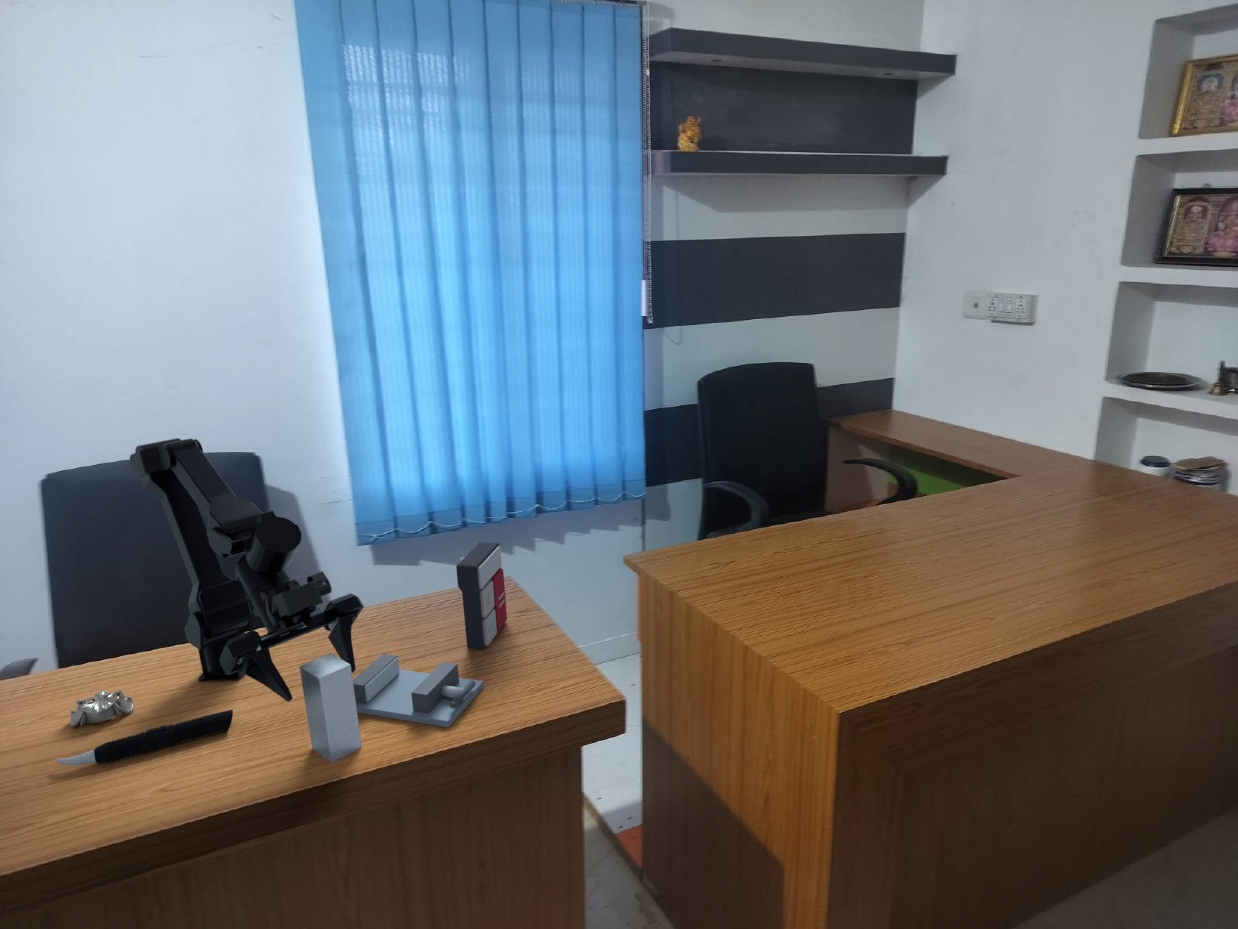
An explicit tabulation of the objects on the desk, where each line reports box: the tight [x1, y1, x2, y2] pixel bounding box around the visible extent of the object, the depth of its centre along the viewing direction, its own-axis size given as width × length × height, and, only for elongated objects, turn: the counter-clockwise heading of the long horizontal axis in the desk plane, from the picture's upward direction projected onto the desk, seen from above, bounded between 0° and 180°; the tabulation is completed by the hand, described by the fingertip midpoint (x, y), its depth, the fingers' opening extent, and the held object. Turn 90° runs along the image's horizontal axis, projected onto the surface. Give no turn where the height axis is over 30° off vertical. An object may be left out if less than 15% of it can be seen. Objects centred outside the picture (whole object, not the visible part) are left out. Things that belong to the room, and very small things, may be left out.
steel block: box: [298, 652, 363, 764], centre depth 110 cm, size 4×5×12 cm
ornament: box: [69, 689, 134, 728], centre depth 122 cm, size 8×7×4 cm
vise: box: [352, 653, 485, 728], centre depth 123 cm, size 18×11×4 cm, turn 73°
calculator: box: [455, 541, 508, 650], centre depth 140 cm, size 11×4×15 cm, turn 168°
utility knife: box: [56, 709, 234, 766], centre depth 113 cm, size 22×4×3 cm, turn 119°
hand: (323, 685), depth 110 cm, fingers open, 9 cm apart
